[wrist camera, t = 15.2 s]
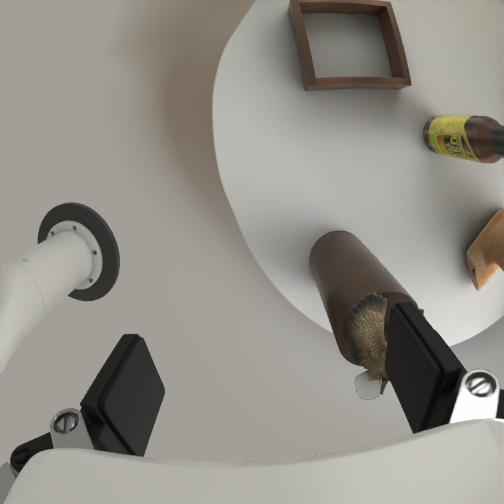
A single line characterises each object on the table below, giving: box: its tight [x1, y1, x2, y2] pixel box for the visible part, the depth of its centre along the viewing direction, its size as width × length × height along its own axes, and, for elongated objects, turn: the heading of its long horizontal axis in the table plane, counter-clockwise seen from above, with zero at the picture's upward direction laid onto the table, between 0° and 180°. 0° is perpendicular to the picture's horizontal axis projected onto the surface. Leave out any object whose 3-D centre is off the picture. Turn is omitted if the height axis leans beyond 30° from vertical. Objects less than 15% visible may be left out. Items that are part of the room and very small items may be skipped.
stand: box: [309, 231, 419, 367], centre depth 36 cm, size 9×9×20 cm
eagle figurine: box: [346, 292, 425, 400], centre depth 24 cm, size 8×7×9 cm
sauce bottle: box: [424, 116, 504, 163], centre depth 29 cm, size 6×6×20 cm
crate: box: [288, 0, 411, 91], centre depth 32 cm, size 15×14×4 cm
